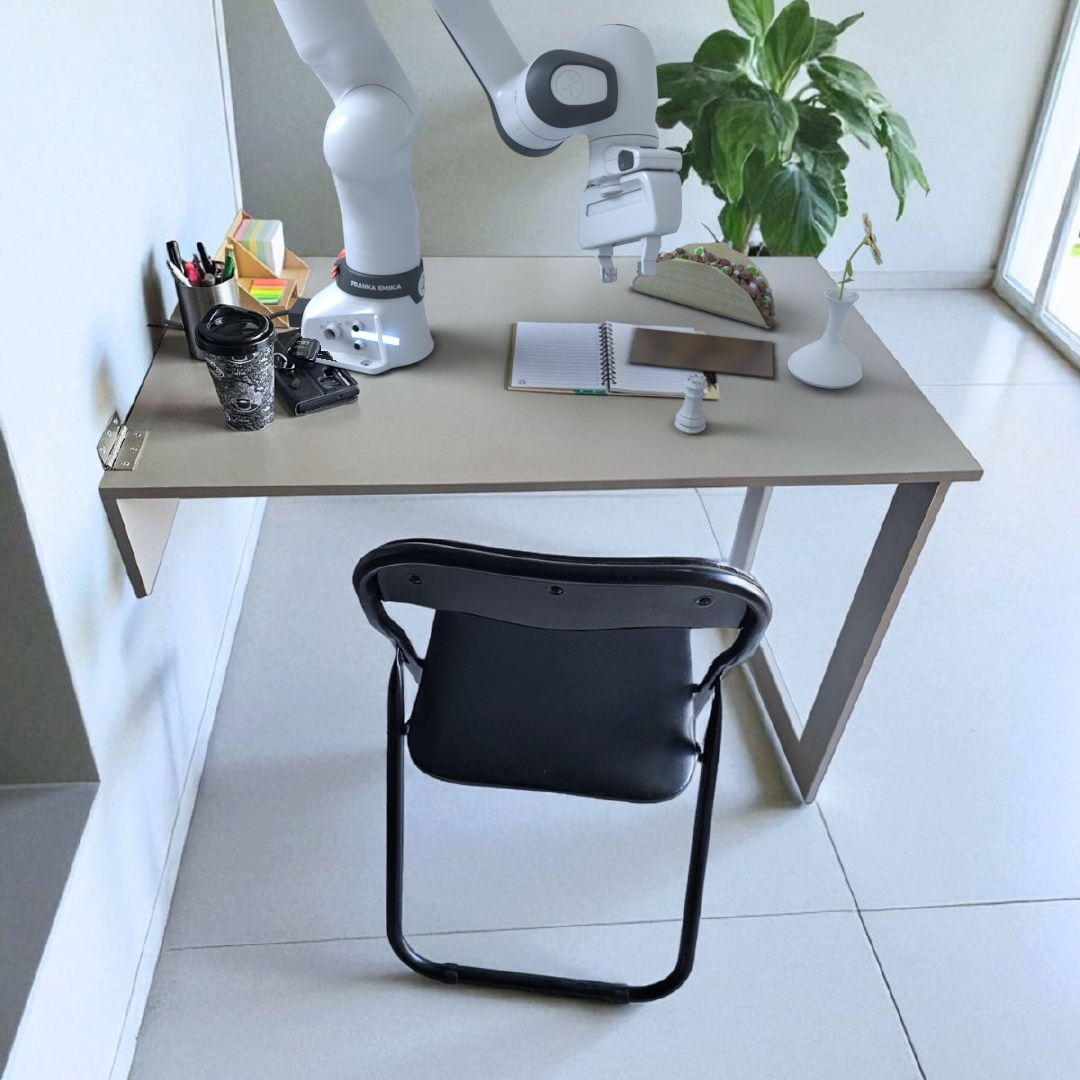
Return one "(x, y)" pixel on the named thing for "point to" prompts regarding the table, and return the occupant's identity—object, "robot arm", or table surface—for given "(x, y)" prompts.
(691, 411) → the rook chess piece
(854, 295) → the flower in vase
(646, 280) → the taco
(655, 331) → the brown wooden board
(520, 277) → the table surface
